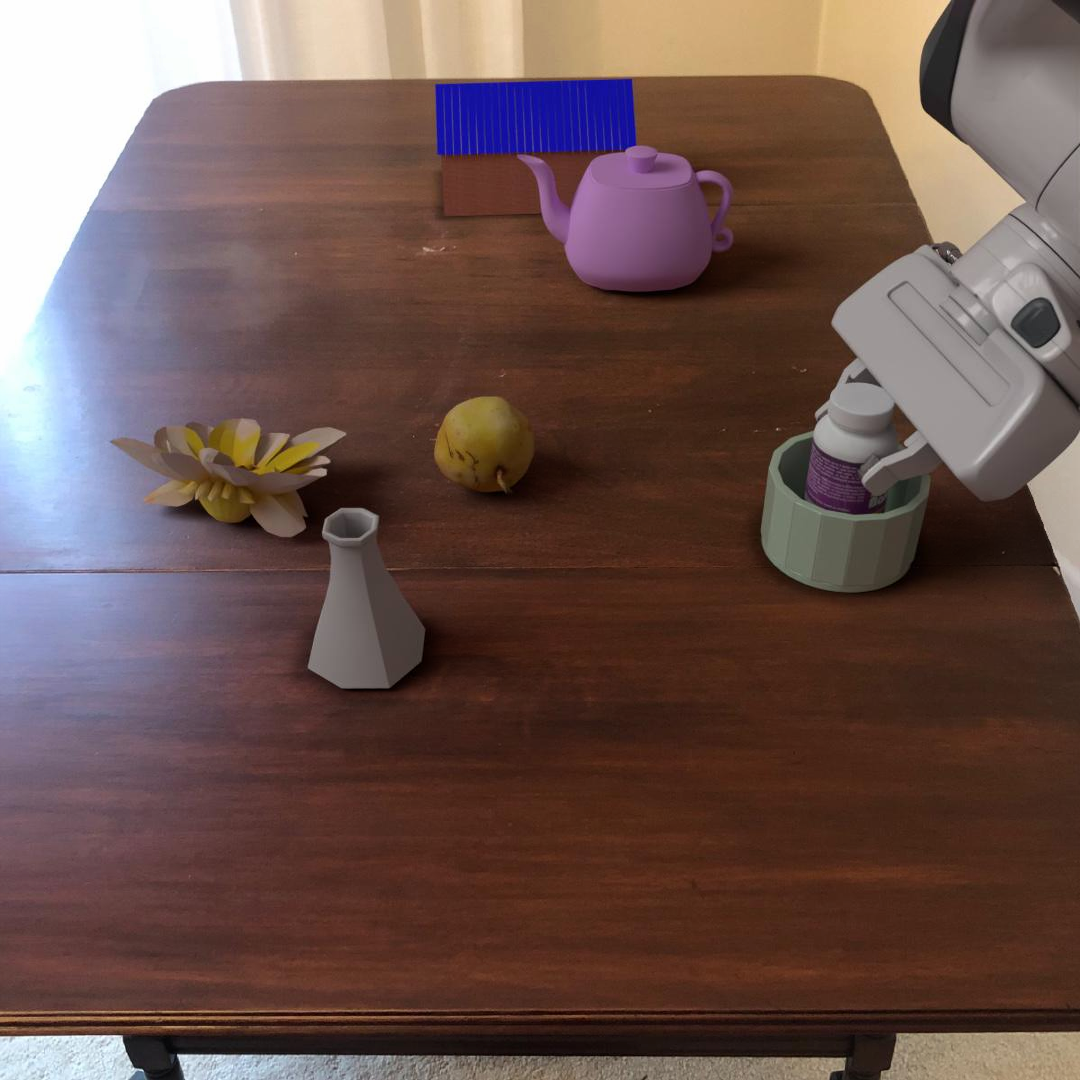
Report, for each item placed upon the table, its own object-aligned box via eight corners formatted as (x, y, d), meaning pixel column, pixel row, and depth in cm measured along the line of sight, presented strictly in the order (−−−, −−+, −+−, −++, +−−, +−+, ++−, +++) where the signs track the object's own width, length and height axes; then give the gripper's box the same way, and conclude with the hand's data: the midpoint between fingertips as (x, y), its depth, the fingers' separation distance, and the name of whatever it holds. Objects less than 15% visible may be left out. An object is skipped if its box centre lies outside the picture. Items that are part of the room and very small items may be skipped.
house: (442, 173, 135) (436, 65, 128) (622, 167, 136) (626, 60, 129) (441, 217, 126) (434, 104, 119) (634, 211, 127) (638, 98, 119)
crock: (945, 564, 81) (964, 491, 78) (821, 611, 78) (834, 537, 74) (849, 484, 89) (862, 414, 85) (731, 524, 85) (739, 453, 81)
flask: (287, 678, 74) (262, 549, 68) (340, 602, 79) (322, 476, 73) (397, 705, 72) (382, 575, 66) (444, 626, 77) (434, 499, 71)
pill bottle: (881, 550, 79) (906, 426, 73) (798, 540, 80) (817, 415, 74) (882, 502, 84) (907, 380, 78) (803, 492, 85) (821, 371, 79)
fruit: (558, 446, 83) (527, 370, 90) (459, 438, 81) (436, 361, 88) (534, 526, 87) (506, 447, 94) (439, 520, 84) (419, 440, 92)
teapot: (723, 240, 121) (733, 122, 114) (737, 304, 111) (750, 178, 103) (521, 241, 121) (518, 123, 114) (517, 304, 111) (513, 179, 104)
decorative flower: (393, 456, 89) (354, 352, 81) (321, 574, 83) (272, 474, 75) (223, 426, 94) (172, 326, 87) (144, 535, 88) (81, 438, 80)
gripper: (915, 203, 80) (759, 350, 85) (1085, 355, 65) (882, 526, 69) (964, 259, 84) (811, 398, 88) (1137, 416, 68) (940, 575, 73)
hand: (843, 456), depth 79 cm, fingers closed on pill bottle, 5 cm apart
